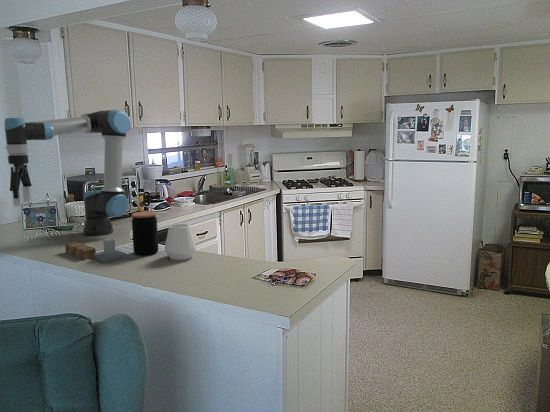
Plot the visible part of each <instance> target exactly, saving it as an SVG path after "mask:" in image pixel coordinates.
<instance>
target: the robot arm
mask: <svg viewBox="0 0 550 412" xmlns="http://www.w3.org/2000/svg"><path fill="white" fill-rule="evenodd" d="M131 122H132V121H131V119H130V116H129V115H128V114H127V113H126V112H125V111H123V110H120V109H110V110H109V109H108V110H107V109H105V110H98V111H94V112H91V113H85V114H81V115H80V116H73V117H65V118H58V119H47V120H40V121H39V120H38V121H31V122H26V121H25V118H23V117H6V118H5V119H4V131H5V132H4V133H5V140H6V146H5V149H6V150H7V154H8V155H7V162H8V164H9V165H13V166H11V167H10V181H9V182H10V184H9V185H10V186H9V192H12V200H13V207H22V198H23V202H31V201H32V200H31V198H32V197H31V189H30V187H32V183H31V178H30V175H29V171H28V165H27V164H29V155H28V143H27V141H47V140H49V141H50V140H52V139H53V138H54V137H55V136H63V135H70V134H78V133H85V134H93V133H97V134H101V137H102V138H103V140H104V159H103V160H104V161H103V162H104V164H103V165H104V166H103V169H104V170H103V173H104V174H103V187H102V188H101V189H98V190H90V191H85V192H84V193H83V201H84V204H83V205H84V213H85V222H84V225H83V228H82V233H83V235H84V236H88V237H89V236H90V237H91V236H92V237H93V236H94V237H95V236H103V235H104V236H105V235H106V236H107V235H110V234H112V233H113V232H114V228H113V224H112V222H111V219H110V218H113V217H114V218H118V217H122V216H123V215H125V213H126V212H128V210H129V207H130V206H129V205H130V203H129V199H128V198H127V196H126V195H125V190H124V189H123V187H122V184H123V183H122V182H123V181H122V179H123V177H122V176H123V141H124V140H125V139H126V137H127V133H128V132H129V130H130V129H131V125H132V123H131ZM21 183H22V195H23V197H22V196H21V190H20V185H21ZM21 197H22V198H21Z"/></svg>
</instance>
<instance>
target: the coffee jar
mask: <svg viewBox="0 0 550 412" xmlns="http://www.w3.org/2000/svg"><path fill="white" fill-rule="evenodd" d="M131 217H132V219H131V229H132V230H131V231H132V243H133V244H132V245H133V246H132V247H133V248H132V249H133V253H134V254H135V256H139V257H148V256H152V255H153V256H154V255H156V254H157V253H158V251H159V239H158V238H159V237H158V235H159V234H158V218H157V212H156V211H137V212H134V213H131Z"/></svg>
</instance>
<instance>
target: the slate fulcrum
mask: <svg viewBox="0 0 550 412" xmlns="http://www.w3.org/2000/svg"><path fill="white" fill-rule="evenodd" d="M102 242H103V251H100V252H99V251H98V252H96V253H94V254H93V255H94V258H93V259H95V260H97V261H100V262H101V263H104V264H105V263H109V262H114V261H118V260H122V259H127V253H126V252H124V251H121V250H119V249H116V242H115V239H114V238H108V239H107V238H106V239H103V241H102Z"/></svg>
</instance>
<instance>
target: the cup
mask: <svg viewBox="0 0 550 412" xmlns="http://www.w3.org/2000/svg"><path fill="white" fill-rule="evenodd" d="M167 230H168V231H167V236H166V239H165V244H164V252H165V253H166V254H167V256H168V258H169V259H170V260H173V261H184V260H189V259H191V258H193V255H194V254H195V252H196V251H197V245H196V242H195V239H194V235H193V231H192V228H191V225H190V224H188V223H174V224H171V225H169V226H168V229H167Z"/></svg>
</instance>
